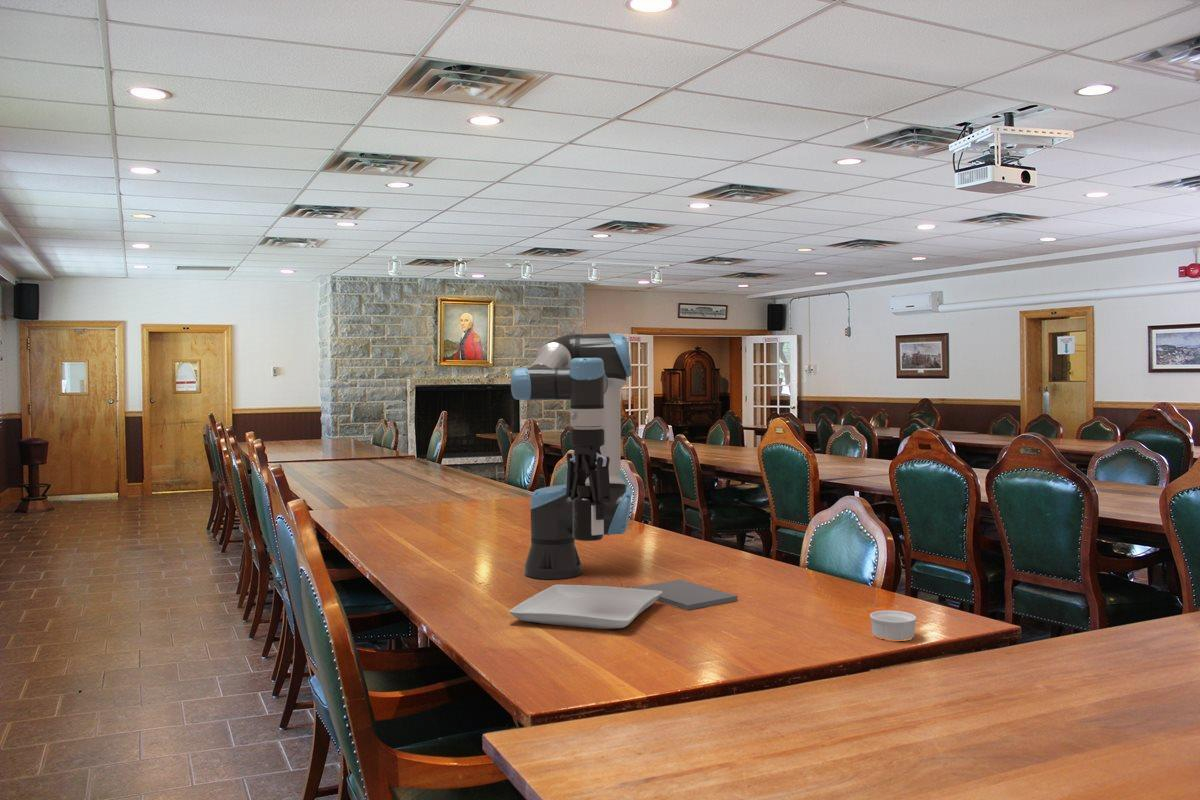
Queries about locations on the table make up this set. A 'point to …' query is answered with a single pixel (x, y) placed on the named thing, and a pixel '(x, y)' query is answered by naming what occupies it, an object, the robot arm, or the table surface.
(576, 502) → the supplement bottle
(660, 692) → the table surface
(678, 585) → the folder
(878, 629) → the ramekin
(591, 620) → the square plate
